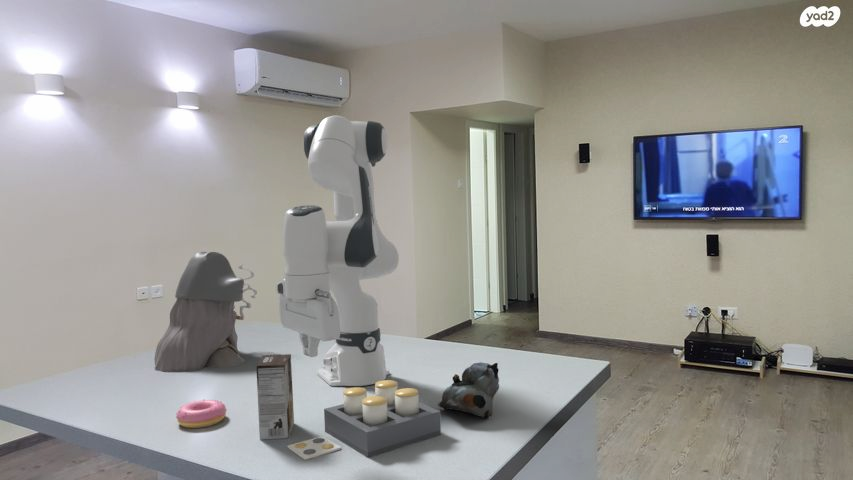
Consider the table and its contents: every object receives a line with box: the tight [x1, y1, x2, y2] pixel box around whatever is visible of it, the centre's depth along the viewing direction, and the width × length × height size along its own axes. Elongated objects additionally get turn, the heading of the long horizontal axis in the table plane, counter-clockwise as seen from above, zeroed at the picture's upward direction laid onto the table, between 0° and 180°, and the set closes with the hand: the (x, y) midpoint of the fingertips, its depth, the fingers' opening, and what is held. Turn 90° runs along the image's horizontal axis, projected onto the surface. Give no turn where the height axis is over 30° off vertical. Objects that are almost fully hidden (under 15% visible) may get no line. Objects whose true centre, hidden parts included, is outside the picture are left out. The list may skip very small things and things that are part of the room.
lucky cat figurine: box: [437, 361, 500, 420], centre depth 143 cm, size 15×12×14 cm
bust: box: [154, 251, 258, 373], centre depth 201 cm, size 34×34×35 cm
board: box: [323, 402, 442, 458], centre depth 132 cm, size 18×18×5 cm
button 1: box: [342, 386, 368, 416], centre depth 132 cm, size 5×5×5 cm
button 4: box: [395, 387, 420, 418], centre depth 131 cm, size 5×5×5 cm
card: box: [287, 435, 342, 461], centre depth 125 cm, size 8×8×1 cm
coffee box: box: [255, 353, 295, 441], centre depth 134 cm, size 9×6×16 cm
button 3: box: [374, 379, 399, 407], centre depth 137 cm, size 5×5×5 cm
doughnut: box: [175, 399, 227, 429], centre depth 142 cm, size 11×11×4 cm
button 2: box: [362, 395, 388, 427], centre depth 126 cm, size 5×5×5 cm
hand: (310, 355), depth 123 cm, fingers closed
